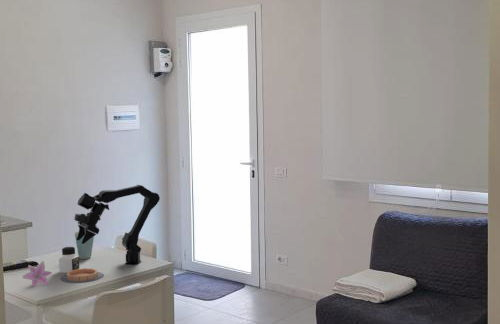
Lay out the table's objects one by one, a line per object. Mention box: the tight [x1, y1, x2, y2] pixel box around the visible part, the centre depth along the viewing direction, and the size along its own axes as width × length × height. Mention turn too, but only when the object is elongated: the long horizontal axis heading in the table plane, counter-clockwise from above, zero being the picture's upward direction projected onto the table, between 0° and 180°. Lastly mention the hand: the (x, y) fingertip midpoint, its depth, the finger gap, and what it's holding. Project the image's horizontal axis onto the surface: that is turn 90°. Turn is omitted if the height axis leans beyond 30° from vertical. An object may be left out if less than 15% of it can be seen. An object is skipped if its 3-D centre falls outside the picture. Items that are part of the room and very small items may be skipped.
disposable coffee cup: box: [74, 230, 95, 260], centre depth 320 cm, size 11×11×15 cm
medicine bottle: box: [58, 246, 81, 274], centre depth 291 cm, size 7×7×12 cm
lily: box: [21, 260, 53, 288], centre depth 270 cm, size 12×12×10 cm
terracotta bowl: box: [66, 267, 99, 281], centre depth 281 cm, size 14×14×2 cm
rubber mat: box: [59, 271, 105, 284], centre depth 281 cm, size 20×20×1 cm
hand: (79, 241), depth 293 cm, fingers open, 9 cm apart
